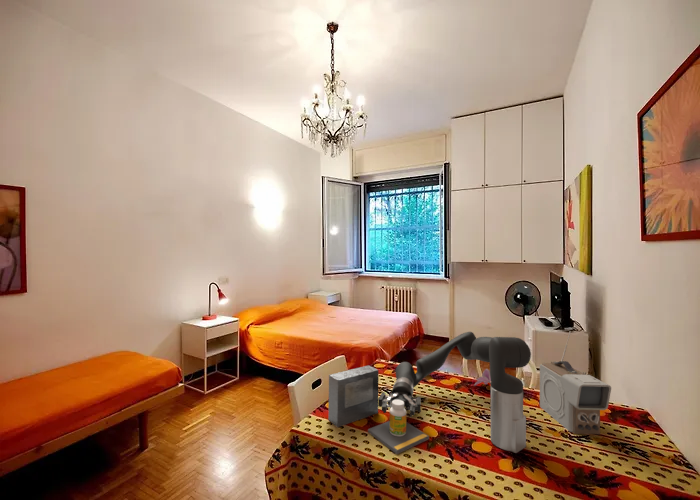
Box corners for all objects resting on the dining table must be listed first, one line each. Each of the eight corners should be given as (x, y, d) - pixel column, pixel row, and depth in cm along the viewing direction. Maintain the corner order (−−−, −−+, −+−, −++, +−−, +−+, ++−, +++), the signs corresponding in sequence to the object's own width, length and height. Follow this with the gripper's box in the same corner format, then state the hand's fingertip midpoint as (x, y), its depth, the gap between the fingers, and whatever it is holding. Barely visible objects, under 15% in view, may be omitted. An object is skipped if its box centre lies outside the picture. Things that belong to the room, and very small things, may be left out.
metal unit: (378, 413, 118) (379, 370, 118) (337, 428, 108) (338, 380, 108) (367, 405, 124) (367, 364, 124) (327, 419, 113) (328, 374, 114)
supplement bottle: (393, 438, 100) (393, 407, 100) (386, 428, 106) (387, 399, 106) (409, 435, 102) (409, 405, 102) (401, 426, 107) (402, 397, 107)
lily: (502, 388, 144) (492, 366, 148) (510, 388, 133) (499, 364, 137) (476, 395, 144) (468, 374, 148) (482, 396, 134) (472, 372, 138)
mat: (428, 439, 102) (428, 435, 102) (396, 454, 94) (396, 450, 94) (398, 420, 113) (398, 417, 113) (367, 432, 105) (367, 428, 105)
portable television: (578, 440, 102) (578, 347, 102) (537, 405, 126) (537, 329, 126) (616, 441, 102) (616, 347, 102) (567, 405, 125) (567, 330, 126)
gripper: (422, 404, 116) (419, 427, 100) (383, 398, 120) (375, 420, 104) (422, 383, 116) (419, 403, 100) (383, 379, 120) (375, 397, 104)
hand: (397, 412), depth 102 cm, fingers open, 8 cm apart
